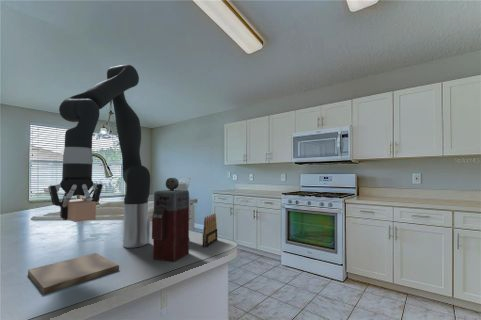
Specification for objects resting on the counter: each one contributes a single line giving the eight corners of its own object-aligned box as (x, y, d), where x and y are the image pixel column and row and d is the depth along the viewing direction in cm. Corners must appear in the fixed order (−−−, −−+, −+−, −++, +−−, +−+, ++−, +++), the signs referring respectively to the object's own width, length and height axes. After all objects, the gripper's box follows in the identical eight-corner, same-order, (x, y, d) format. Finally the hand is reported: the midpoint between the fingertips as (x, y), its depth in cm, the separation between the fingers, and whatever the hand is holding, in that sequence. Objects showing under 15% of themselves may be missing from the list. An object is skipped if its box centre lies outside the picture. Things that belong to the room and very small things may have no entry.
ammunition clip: (213, 239, 103) (213, 212, 103) (217, 240, 102) (217, 212, 103) (202, 247, 93) (202, 216, 93) (206, 247, 92) (206, 217, 93)
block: (75, 203, 64) (61, 200, 73) (75, 222, 64) (60, 216, 72) (96, 202, 68) (79, 199, 76) (95, 219, 67) (79, 214, 76)
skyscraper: (184, 238, 106) (184, 177, 108) (194, 242, 100) (194, 177, 102) (167, 242, 100) (168, 177, 102) (176, 246, 94) (177, 178, 96)
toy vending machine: (148, 261, 78) (149, 178, 80) (168, 250, 88) (169, 177, 90) (170, 264, 75) (171, 178, 77) (189, 253, 85) (189, 177, 87)
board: (95, 257, 82) (95, 252, 82) (118, 269, 71) (119, 264, 71) (28, 274, 68) (28, 269, 68) (43, 294, 57) (43, 287, 57)
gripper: (98, 163, 79) (97, 213, 78) (45, 162, 68) (42, 220, 67) (107, 163, 75) (106, 216, 74) (52, 161, 64) (49, 223, 63)
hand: (76, 217), depth 71 cm, fingers closed on block, 5 cm apart
